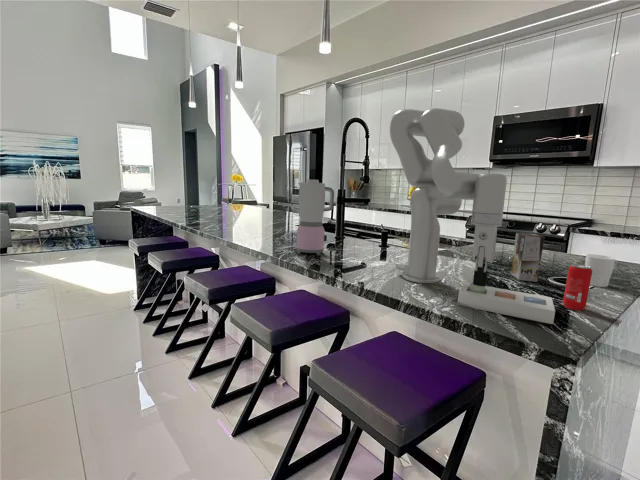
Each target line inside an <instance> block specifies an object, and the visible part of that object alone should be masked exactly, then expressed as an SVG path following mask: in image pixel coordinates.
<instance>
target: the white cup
mask: <svg viewBox="0 0 640 480" xmlns="http://www.w3.org/2000/svg"><path fill="white" fill-rule="evenodd" d="M615 262H616V258H615V257H611V256H608V255H601V254H591V253H590V254H586V255H585V263H584V265H586V266H590V267H592V276H591V282H590V286H592V287H597V288H608V286H609V283H610V279H611V277H612V273H613V270H614V265H615Z"/></svg>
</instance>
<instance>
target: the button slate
mask: <svg viewBox="0 0 640 480" xmlns="http://www.w3.org/2000/svg"><path fill="white" fill-rule="evenodd" d="M526 302H531V303H536V304H542V305H544V300H542V299H539V298H535V297H527V298H526Z"/></svg>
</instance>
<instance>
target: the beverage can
mask: <svg viewBox="0 0 640 480" xmlns="http://www.w3.org/2000/svg"><path fill="white" fill-rule="evenodd" d="M591 276H592V267H590V266H586V265H585V264H580V263H577V264H576V263H570V265H569V267H568V271H567V276H566V281H565V283H566V284H565V289H564V293H563V294H564V295H563V300H562V303H563V307H565V308H566V309H569V310H572V311H577V312H580V311H581V310H582V311H584V310H585V308H586V307H587V303H588V302H587V301H588V297H589V292H590V291H589V290H590V288H591V287H590V286H591V285H590V282H591ZM582 311H581V312H582Z"/></svg>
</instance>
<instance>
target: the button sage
mask: <svg viewBox="0 0 640 480" xmlns="http://www.w3.org/2000/svg"><path fill="white" fill-rule="evenodd" d="M486 286H487V285H486ZM486 286H478V285H473V281H471V282H470V288H469V291H471V292H476V293H481V294H485V287H486Z"/></svg>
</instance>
